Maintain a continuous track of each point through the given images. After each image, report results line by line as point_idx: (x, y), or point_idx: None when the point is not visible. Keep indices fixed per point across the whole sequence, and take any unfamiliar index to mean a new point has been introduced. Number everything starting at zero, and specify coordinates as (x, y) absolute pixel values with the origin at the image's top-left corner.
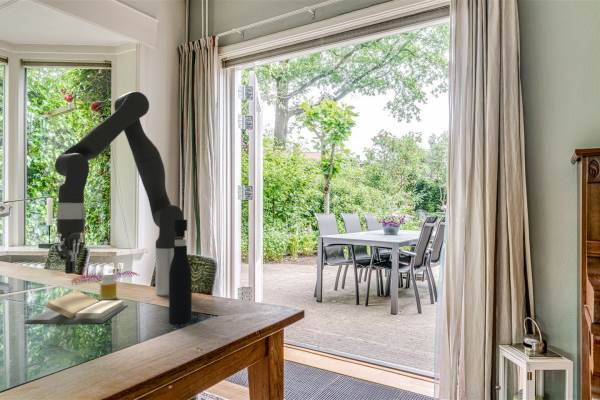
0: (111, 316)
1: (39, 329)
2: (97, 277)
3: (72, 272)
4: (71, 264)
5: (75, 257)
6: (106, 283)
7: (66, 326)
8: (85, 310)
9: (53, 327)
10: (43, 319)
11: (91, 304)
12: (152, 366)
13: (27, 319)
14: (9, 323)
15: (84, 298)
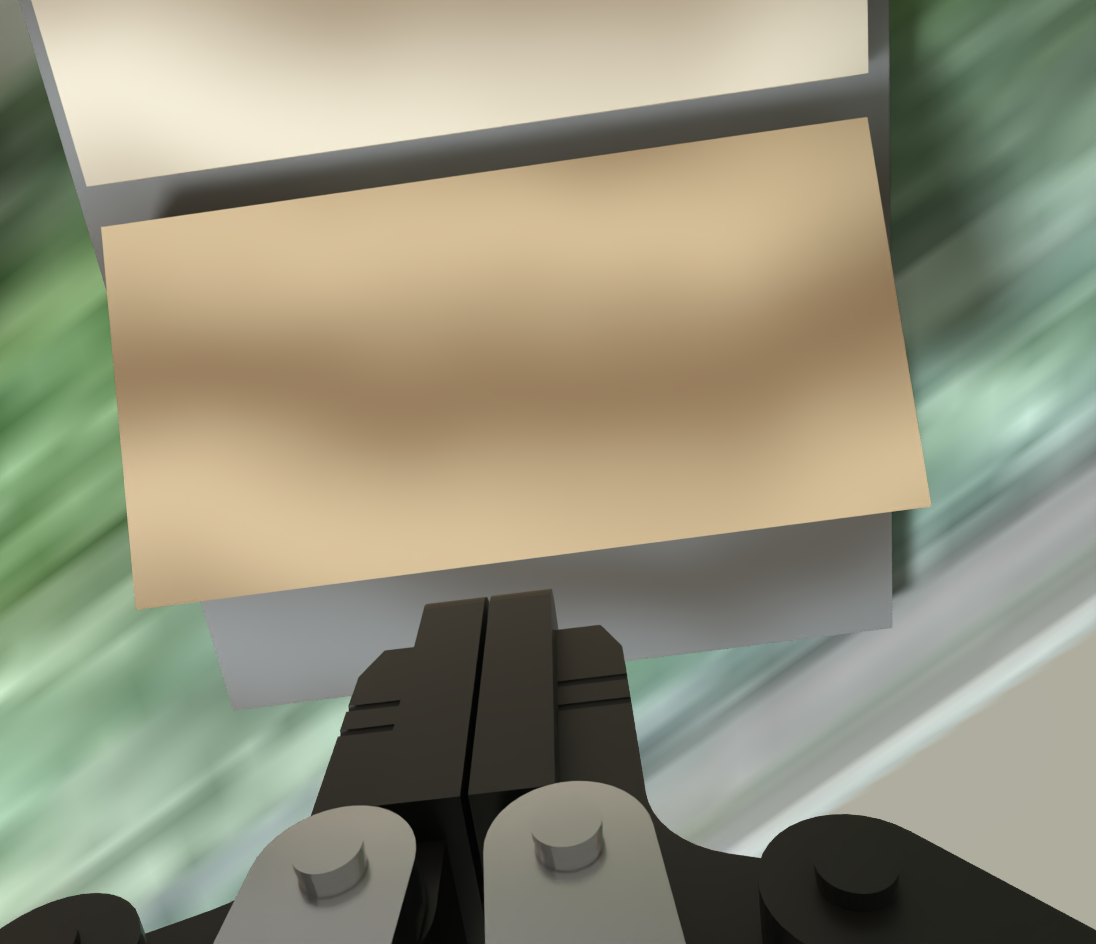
0: None
1: (1082, 331)
2: None
3: (538, 592)
4: (557, 750)
5: (333, 912)
6: None
7: (978, 94)
8: (710, 26)
9: (1013, 228)
10: None
11: (337, 194)
12: None
13: (882, 622)
14: (855, 762)
15: (264, 372)
